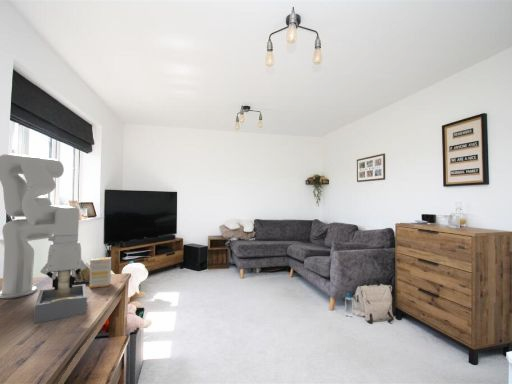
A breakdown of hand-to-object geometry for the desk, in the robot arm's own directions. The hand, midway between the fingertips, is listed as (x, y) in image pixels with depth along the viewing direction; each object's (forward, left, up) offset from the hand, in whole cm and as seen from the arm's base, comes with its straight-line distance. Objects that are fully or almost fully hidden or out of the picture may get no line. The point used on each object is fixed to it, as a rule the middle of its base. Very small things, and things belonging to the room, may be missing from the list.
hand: (63, 287), depth 96 cm
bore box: (0, 0, -8) cm, 8 cm away
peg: (0, 0, -3) cm, 3 cm away
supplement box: (-22, +14, -9) cm, 27 cm away
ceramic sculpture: (-34, +7, -9) cm, 35 cm away
